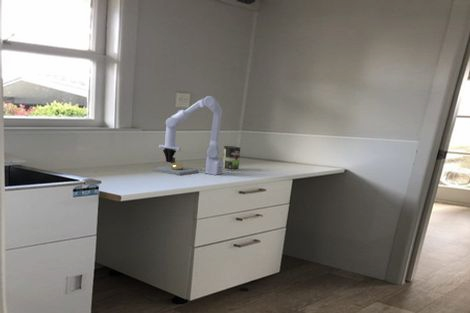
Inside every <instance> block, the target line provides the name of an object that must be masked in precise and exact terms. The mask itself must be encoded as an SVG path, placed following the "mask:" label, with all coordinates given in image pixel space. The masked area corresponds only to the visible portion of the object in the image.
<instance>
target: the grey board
mask: <svg viewBox="0 0 470 313" xmlns="http://www.w3.org/2000/svg"><path fill="white" fill-rule="evenodd" d="M152 171H155V172H158V173H159V172H160V173H165V174H170V175H176V176H185V175H192V174H198V173H199V169H194V168H188V167H185V166H183V169H182V170H176V169H172V165H166V166H157V167H153V168H152Z"/></svg>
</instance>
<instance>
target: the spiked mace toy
mask: <svg viewBox="0 0 470 313" xmlns="http://www.w3.org/2000/svg"><path fill="white" fill-rule="evenodd" d="M170 166H172V169H176V170H182V169H183V168H184V163H180V162H177V163H176V157H174V156H173V158H172V161H171V162H170Z"/></svg>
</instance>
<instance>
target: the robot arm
mask: <svg viewBox="0 0 470 313" xmlns="http://www.w3.org/2000/svg"><path fill="white" fill-rule="evenodd" d="M200 108H208V109H209V110H210V111H211V112H212V114H213V116H212V117H213V118H212V124H211V133H210V141H209V147H208V149H207V150H206V154H207V156H206V159H205V171H202V173H203V174H208V175H215V176H217V175H223V174H224V172H223V170H224V169H223V159H221V158H220V157H219V153H220V148H219V139H220V131H221V123H222V116H223V110H222V108H221V106H220V104H219V101H218V100H217V99H216V98H215V97H214V96H211V95H207V96H205V97H203V98H201V99H199V100H198V101H196V102H195V103H194V104H192V105H191V106H189V107H188V108H186V109H181V110H180V109H179V110H177V112H176V113H175V114H172V115H171V117H168V118H167V119H166V120H165V125H166V128H165V136H164V137H165V140H164V144H159V145H158V148H159V149H163V150H162V151H163V154H164V157H165V161H166V163H171V161H172V158H173V157H174V155H175V154H176V152H181V151H182V150H181V147H179V146H176V137H177V136H176V135H177V131H176V128H177V125H179V124H181V123H183V122H184V121H186V120H187V119H188V117H189V115H190V114H192V113H193V112H195V111H196V110H198V109H200Z"/></svg>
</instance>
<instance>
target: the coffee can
mask: <svg viewBox="0 0 470 313" xmlns="http://www.w3.org/2000/svg"><path fill="white" fill-rule="evenodd" d="M240 155H241V147H239V146H232V145H231V146H230V145H225V146H223V158H222V161H223V170H224V171H231V172H232V171H233V172H234V171H239V167H240Z"/></svg>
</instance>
